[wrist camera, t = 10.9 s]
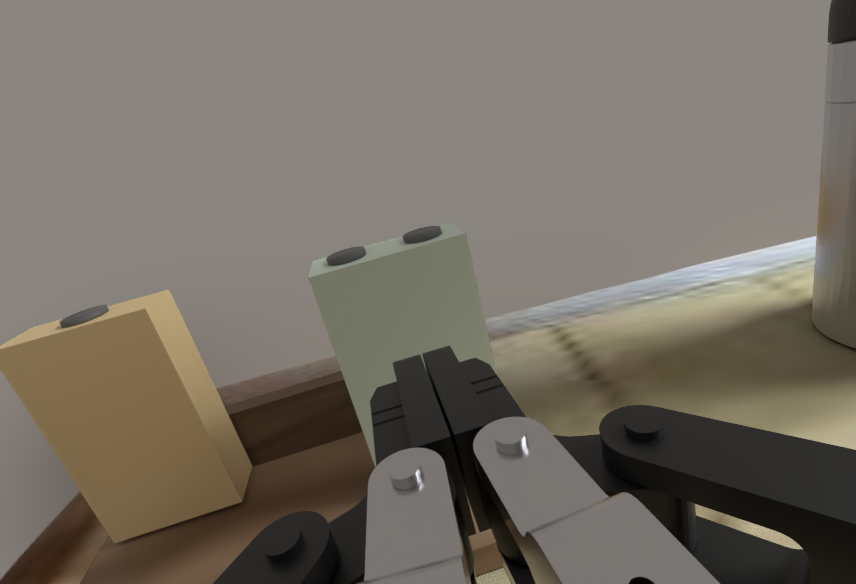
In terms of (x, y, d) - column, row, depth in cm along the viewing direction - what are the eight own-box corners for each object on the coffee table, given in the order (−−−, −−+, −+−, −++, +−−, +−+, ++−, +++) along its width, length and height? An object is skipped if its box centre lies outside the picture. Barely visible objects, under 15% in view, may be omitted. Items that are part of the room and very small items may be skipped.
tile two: (513, 451, 24) (464, 227, 19) (384, 494, 23) (306, 272, 19) (495, 419, 26) (449, 217, 22) (380, 456, 26) (311, 256, 22)
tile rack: (577, 540, 20) (560, 441, 18) (20, 738, 18) (-64, 650, 16) (493, 399, 31) (477, 329, 29) (145, 510, 29) (104, 443, 27)
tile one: (241, 501, 25) (142, 303, 21) (114, 543, 24) (-15, 347, 20) (252, 466, 28) (166, 285, 24) (138, 502, 27) (29, 323, 23)
